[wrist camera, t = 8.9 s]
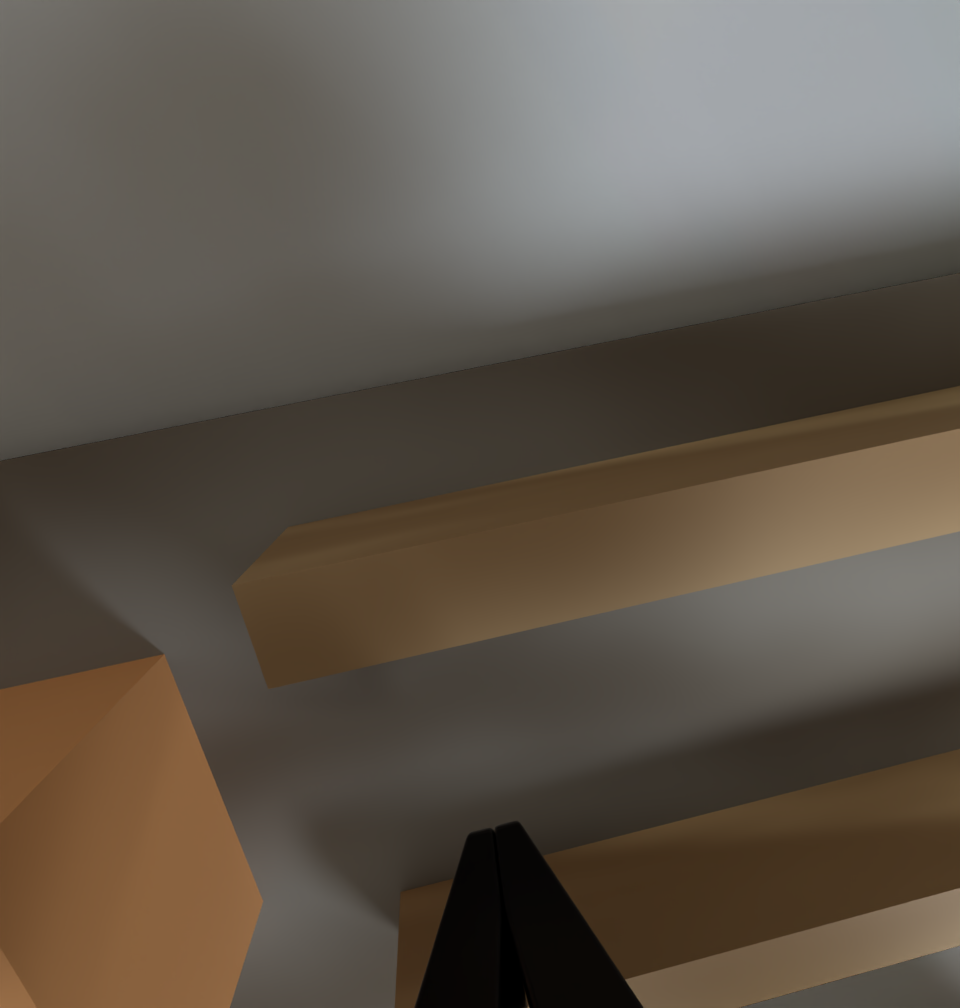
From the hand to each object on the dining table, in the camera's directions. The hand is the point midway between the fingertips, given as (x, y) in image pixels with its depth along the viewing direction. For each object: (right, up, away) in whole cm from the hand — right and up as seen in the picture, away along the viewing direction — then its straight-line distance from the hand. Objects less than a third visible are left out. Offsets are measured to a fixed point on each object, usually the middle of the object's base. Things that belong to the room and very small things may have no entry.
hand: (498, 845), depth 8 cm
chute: (+2, +1, +3) cm, 4 cm away
